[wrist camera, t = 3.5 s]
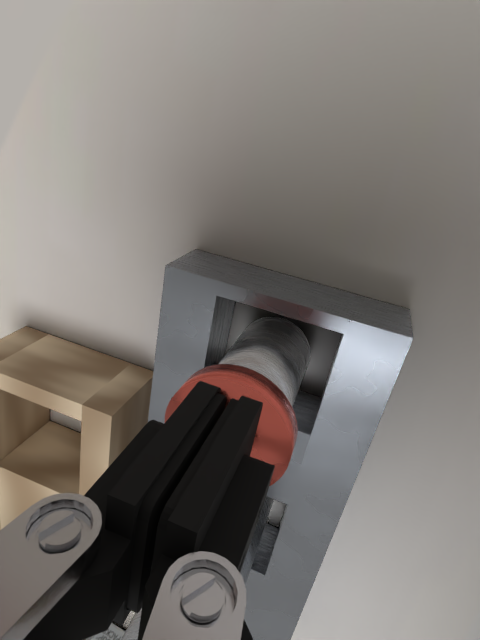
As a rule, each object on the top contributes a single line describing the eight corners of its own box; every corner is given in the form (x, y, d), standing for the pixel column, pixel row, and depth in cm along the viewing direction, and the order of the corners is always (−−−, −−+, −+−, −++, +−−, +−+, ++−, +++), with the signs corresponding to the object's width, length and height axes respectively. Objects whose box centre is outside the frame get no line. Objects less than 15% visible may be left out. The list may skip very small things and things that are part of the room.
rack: (156, 372, 19) (-85, 608, 9) (132, 572, 25) (-30, 843, 15) (26, 326, 20) (-301, 488, 11) (33, 525, 26) (-174, 745, 17)
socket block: (409, 309, 15) (413, 338, 12) (288, 619, 22) (277, 671, 20) (196, 249, 16) (165, 265, 14) (151, 557, 24) (127, 598, 22)
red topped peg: (333, 322, 14) (306, 407, 10) (308, 403, 16) (274, 510, 11) (239, 294, 15) (172, 360, 10) (223, 374, 17) (158, 464, 12)
